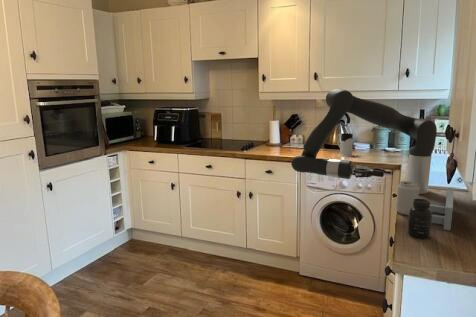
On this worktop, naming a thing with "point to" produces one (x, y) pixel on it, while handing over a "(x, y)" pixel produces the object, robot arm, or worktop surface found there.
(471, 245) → the worktop surface
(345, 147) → the glass holder
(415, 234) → the supplement bottle
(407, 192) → the can
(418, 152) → the robot arm
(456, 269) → the worktop surface
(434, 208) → the stop bay
